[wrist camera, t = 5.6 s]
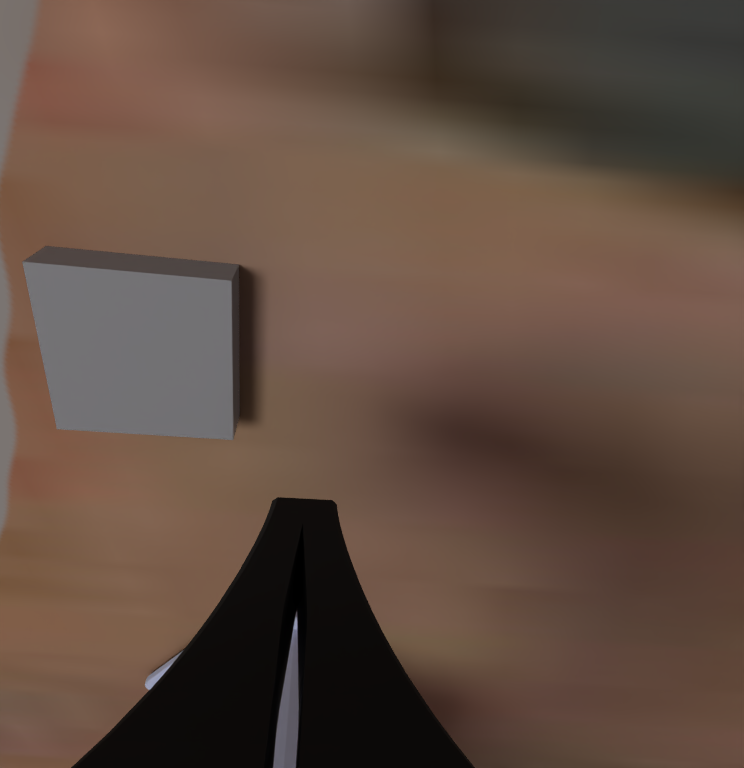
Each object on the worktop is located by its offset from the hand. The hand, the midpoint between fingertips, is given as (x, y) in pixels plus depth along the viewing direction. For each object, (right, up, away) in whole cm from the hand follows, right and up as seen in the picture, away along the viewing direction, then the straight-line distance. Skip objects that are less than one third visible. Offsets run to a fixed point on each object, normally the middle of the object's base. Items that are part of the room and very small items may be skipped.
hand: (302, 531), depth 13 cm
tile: (-3, +4, +7) cm, 8 cm away
